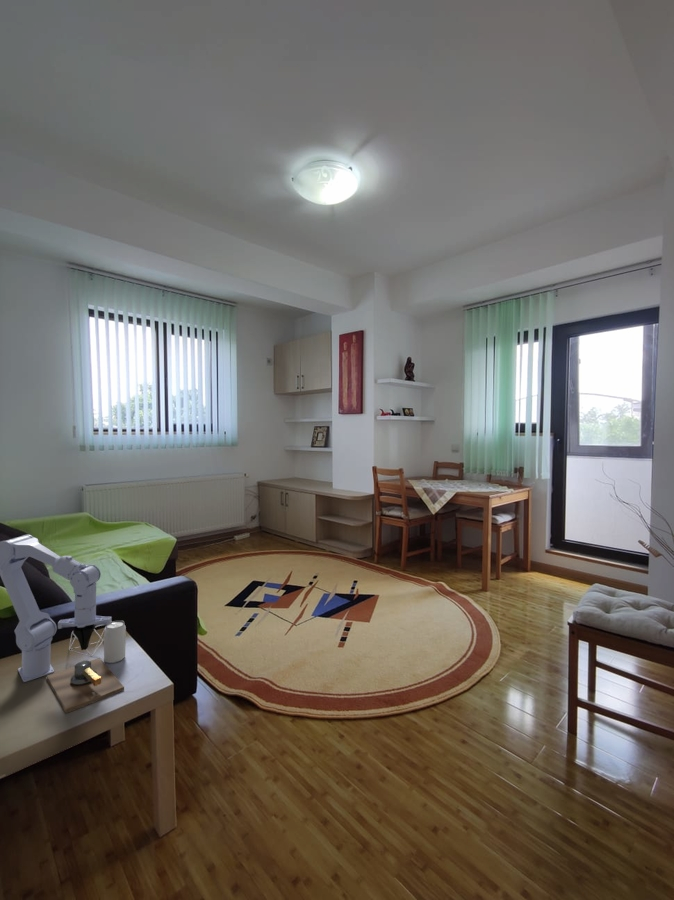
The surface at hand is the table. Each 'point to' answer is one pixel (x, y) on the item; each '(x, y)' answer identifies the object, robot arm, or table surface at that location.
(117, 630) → the can
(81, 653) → the geometric polyhedron
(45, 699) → the table surface
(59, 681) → the stand
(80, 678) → the lever door handle
